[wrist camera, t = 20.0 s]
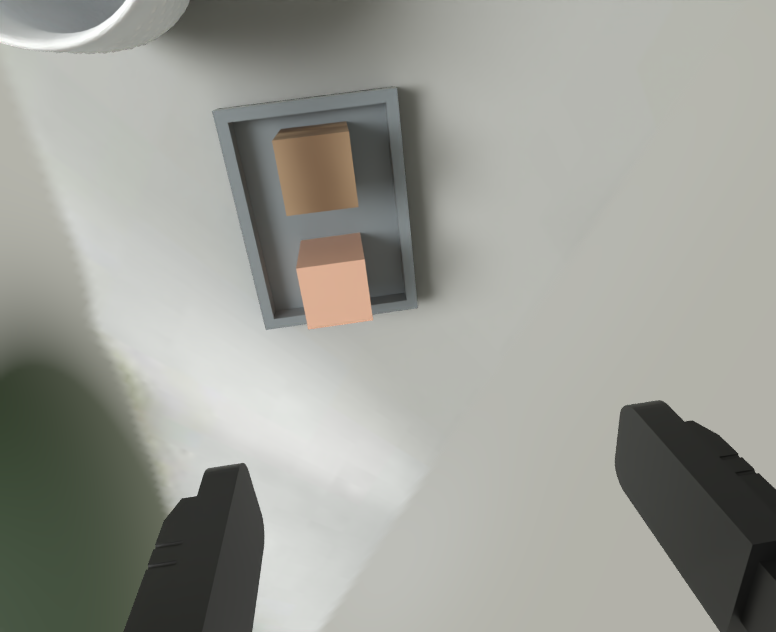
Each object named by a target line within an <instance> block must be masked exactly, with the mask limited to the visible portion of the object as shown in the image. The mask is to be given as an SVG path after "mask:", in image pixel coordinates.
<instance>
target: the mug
mask: <svg viewBox="0 0 776 632" xmlns="http://www.w3.org/2000/svg"><path fill="white" fill-rule="evenodd" d="M189 1H190V0H0V43H3V44H6V45H10V46H13V47H17V48H22V49H27V50H34V51H45V52H55V53H61V52H68V53H73V54H82V53H85V54H94V53H108V52H116V51H121V50H128V49H133V48H134V47H136V46H141V45H146V44H147V43H148V42H150V41H152V40H156V39H157V38H158V37H159V36H161V35H162V34H163V33H166V32H167V31H168V30H169V29H170V28H171V27H172V26H174V25H175V23H176V22H177V21H179V18H180V17H181V15H182V14H183V13H184V12H185V10H186V8H187V6H188V4H189Z"/></svg>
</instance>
